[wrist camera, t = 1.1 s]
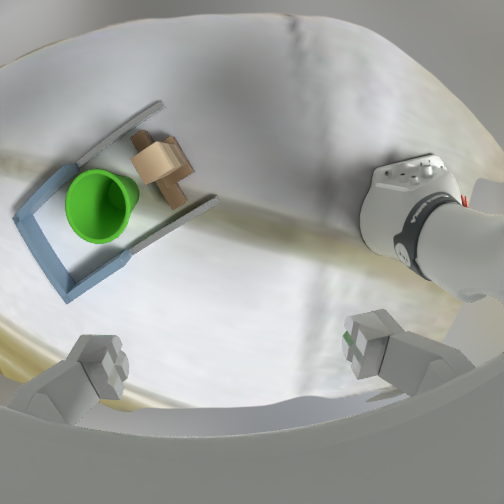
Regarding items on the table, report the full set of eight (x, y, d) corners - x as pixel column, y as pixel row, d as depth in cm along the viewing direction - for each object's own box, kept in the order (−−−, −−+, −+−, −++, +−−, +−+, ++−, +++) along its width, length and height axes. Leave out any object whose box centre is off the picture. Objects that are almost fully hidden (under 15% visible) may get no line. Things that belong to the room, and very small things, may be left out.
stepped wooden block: (164, 120, 36) (135, 103, 22) (204, 189, 40) (195, 208, 26) (136, 138, 36) (93, 133, 22) (175, 206, 41) (153, 234, 26)
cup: (121, 152, 37) (90, 153, 27) (163, 189, 40) (145, 202, 29) (88, 197, 39) (53, 213, 28) (129, 233, 41) (103, 259, 31)
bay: (75, 163, 36) (63, 165, 33) (131, 256, 43) (124, 266, 39) (24, 212, 37) (12, 218, 34) (75, 293, 44) (66, 304, 40)
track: (162, 102, 35) (161, 100, 34) (220, 201, 41) (220, 202, 40) (79, 161, 36) (76, 162, 35) (134, 253, 42) (132, 255, 41)
